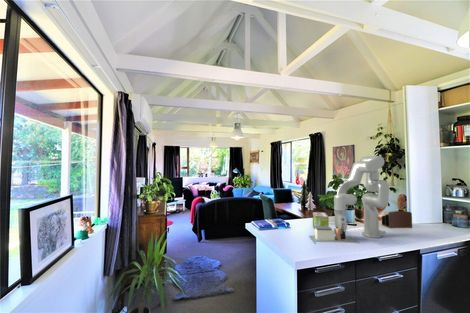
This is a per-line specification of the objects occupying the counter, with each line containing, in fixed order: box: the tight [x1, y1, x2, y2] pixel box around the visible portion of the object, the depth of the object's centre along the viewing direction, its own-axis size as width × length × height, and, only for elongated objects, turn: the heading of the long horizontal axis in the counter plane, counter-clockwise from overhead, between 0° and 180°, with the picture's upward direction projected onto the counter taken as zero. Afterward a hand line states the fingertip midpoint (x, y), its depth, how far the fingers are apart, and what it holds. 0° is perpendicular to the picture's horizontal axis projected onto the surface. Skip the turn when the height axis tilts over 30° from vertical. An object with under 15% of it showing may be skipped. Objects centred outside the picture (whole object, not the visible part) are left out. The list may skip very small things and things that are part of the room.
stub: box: [335, 227, 345, 240], centre depth 161 cm, size 5×4×7 cm
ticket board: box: [308, 226, 360, 245], centre depth 162 cm, size 30×14×9 cm, turn 87°
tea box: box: [312, 211, 330, 233], centre depth 181 cm, size 15×10×15 cm, turn 168°
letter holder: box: [381, 210, 413, 229], centre depth 197 cm, size 10×20×14 cm, turn 91°
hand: (340, 237), depth 161 cm, fingers open, 7 cm apart
